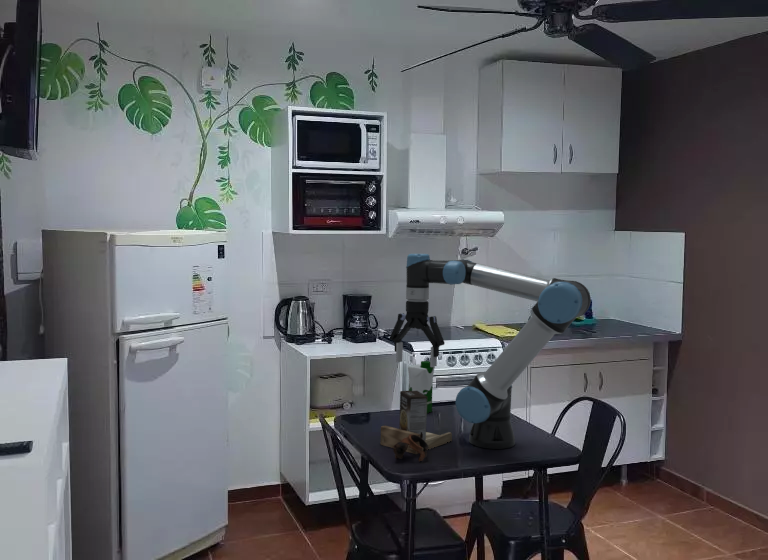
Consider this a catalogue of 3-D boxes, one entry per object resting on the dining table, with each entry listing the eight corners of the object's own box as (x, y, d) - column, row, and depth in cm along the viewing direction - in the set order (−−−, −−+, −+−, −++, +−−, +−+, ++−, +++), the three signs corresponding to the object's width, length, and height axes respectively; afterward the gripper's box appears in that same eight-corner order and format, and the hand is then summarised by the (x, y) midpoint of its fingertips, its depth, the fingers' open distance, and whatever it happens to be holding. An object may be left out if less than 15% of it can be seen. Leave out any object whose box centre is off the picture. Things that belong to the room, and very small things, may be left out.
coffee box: (398, 438, 237) (399, 390, 236) (416, 437, 239) (417, 389, 238) (407, 446, 229) (409, 396, 228) (426, 445, 231) (427, 396, 230)
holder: (451, 441, 240) (452, 423, 239) (416, 454, 224) (416, 435, 224) (417, 432, 249) (417, 415, 248) (380, 444, 233) (380, 426, 233)
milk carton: (423, 416, 272) (425, 364, 271) (403, 412, 277) (405, 361, 276) (435, 411, 279) (437, 361, 278) (415, 408, 284) (417, 358, 283)
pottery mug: (405, 452, 227) (418, 432, 226) (423, 472, 221) (437, 451, 219) (380, 451, 218) (394, 429, 217) (398, 471, 212) (413, 449, 211)
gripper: (380, 298, 240) (379, 361, 241) (443, 303, 225) (442, 370, 226) (393, 297, 246) (392, 358, 247) (455, 302, 231) (454, 367, 232)
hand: (416, 364), depth 237 cm, fingers open, 13 cm apart
